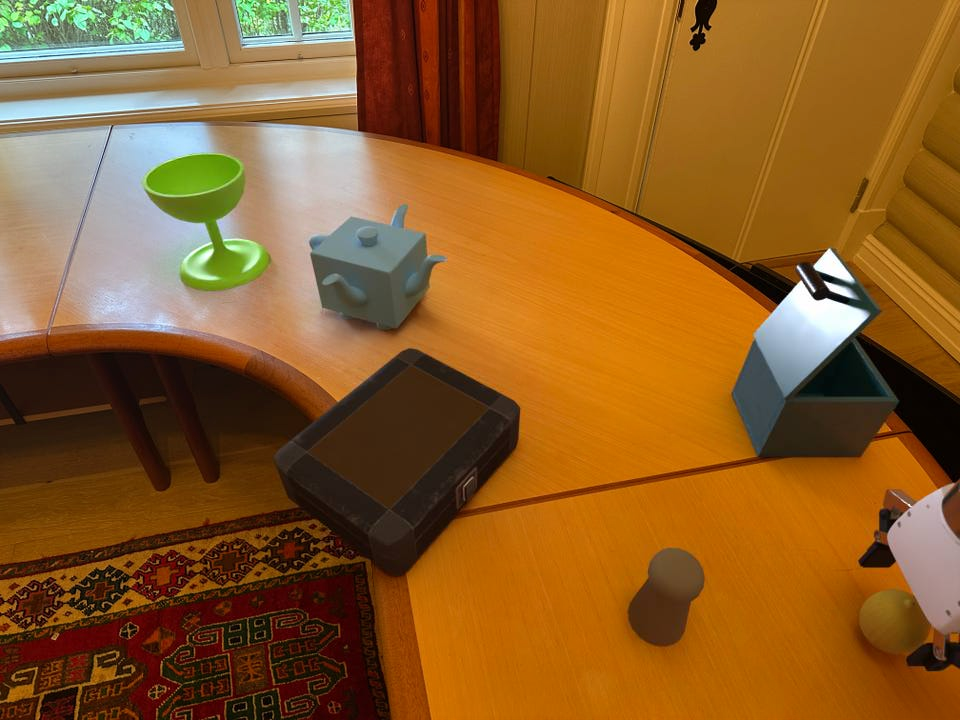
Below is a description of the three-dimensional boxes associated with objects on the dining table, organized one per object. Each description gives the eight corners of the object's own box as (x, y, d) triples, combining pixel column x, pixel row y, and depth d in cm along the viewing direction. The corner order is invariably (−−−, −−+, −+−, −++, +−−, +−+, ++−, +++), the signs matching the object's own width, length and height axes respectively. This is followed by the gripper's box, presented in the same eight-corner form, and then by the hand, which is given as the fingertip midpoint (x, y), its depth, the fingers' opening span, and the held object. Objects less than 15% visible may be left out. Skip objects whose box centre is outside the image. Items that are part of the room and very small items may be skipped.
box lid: (835, 249, 71) (797, 235, 70) (883, 310, 63) (841, 296, 62) (757, 336, 81) (723, 325, 79) (790, 399, 72) (752, 389, 71)
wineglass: (202, 239, 119) (170, 150, 106) (281, 243, 117) (258, 154, 105) (163, 287, 107) (121, 194, 95) (250, 293, 106) (220, 199, 93)
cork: (616, 602, 65) (634, 550, 58) (663, 581, 67) (686, 528, 60) (649, 656, 61) (672, 608, 54) (697, 632, 63) (727, 582, 56)
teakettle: (314, 289, 107) (296, 214, 97) (415, 265, 112) (408, 192, 102) (339, 356, 94) (321, 278, 84) (451, 325, 99) (448, 249, 89)
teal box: (823, 393, 88) (855, 337, 81) (860, 457, 80) (899, 401, 72) (730, 393, 88) (754, 337, 81) (757, 457, 80) (786, 401, 72)
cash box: (402, 587, 67) (395, 552, 61) (280, 494, 75) (265, 456, 70) (526, 444, 81) (530, 405, 76) (413, 380, 90) (408, 341, 85)
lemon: (891, 678, 60) (933, 645, 54) (837, 635, 63) (871, 600, 57) (914, 640, 63) (956, 606, 57) (860, 601, 66) (895, 564, 60)
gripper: (1134, 631, 41) (986, 708, 53) (983, 433, 54) (891, 531, 66) (1024, 631, 41) (902, 708, 53) (899, 433, 54) (822, 531, 66)
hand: (896, 610), depth 60 cm, fingers open, 9 cm apart
